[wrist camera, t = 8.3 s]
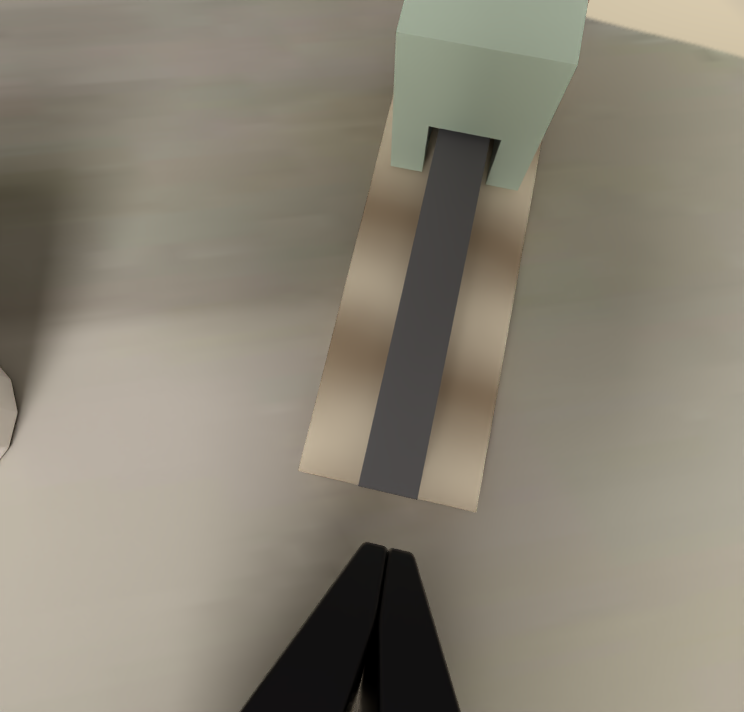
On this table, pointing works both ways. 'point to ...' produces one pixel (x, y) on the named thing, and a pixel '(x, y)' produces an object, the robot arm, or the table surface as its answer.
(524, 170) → the sleeve
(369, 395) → the track board
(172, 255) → the table surface
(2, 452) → the white cup
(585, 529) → the table surface
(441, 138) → the rail
